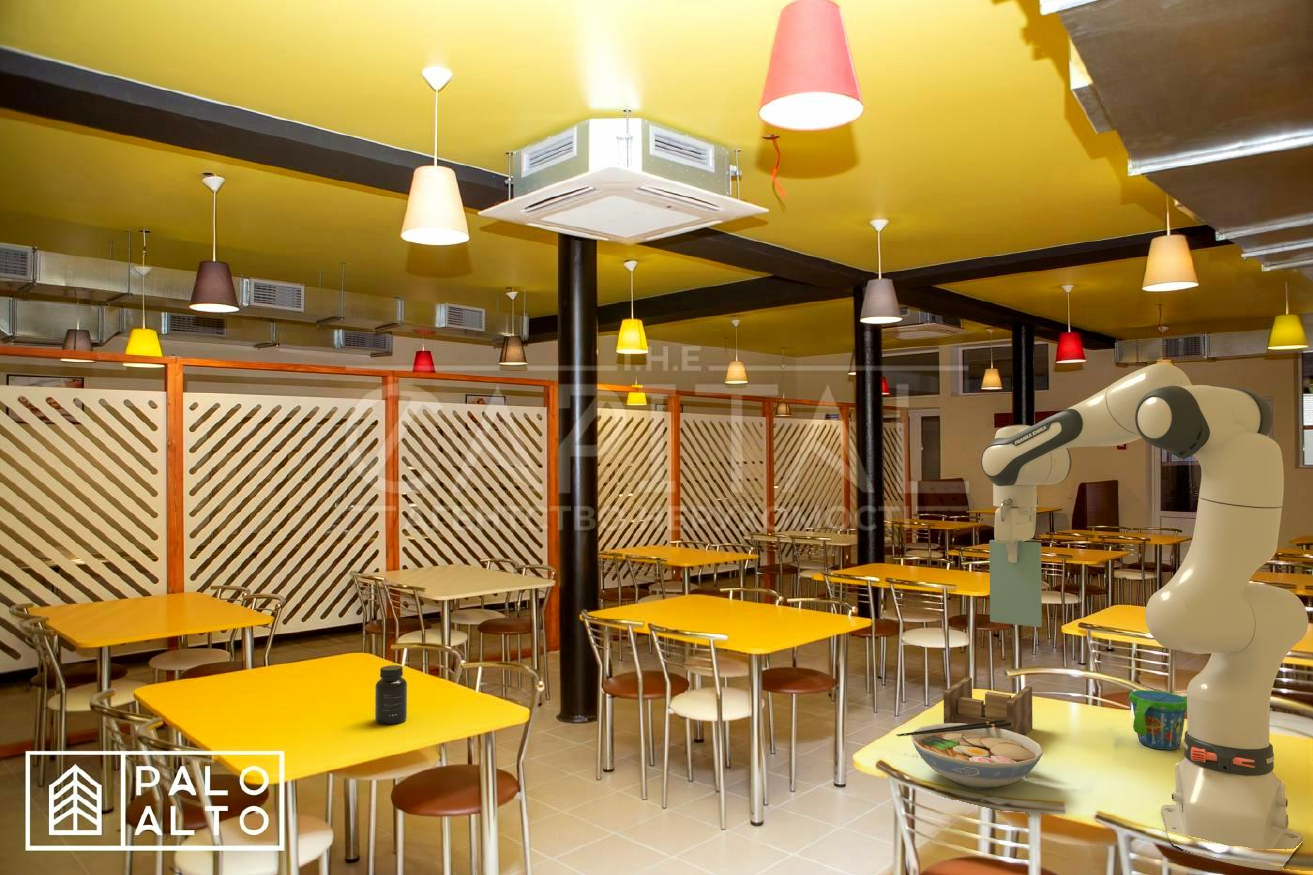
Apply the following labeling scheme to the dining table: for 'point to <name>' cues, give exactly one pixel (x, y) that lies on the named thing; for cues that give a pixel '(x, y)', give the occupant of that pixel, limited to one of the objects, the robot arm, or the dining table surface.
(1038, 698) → the dining table surface
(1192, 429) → the robot arm
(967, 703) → the short oak offcut
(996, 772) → the ramen bowl
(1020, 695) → the walnut rack
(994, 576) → the tall panel
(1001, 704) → the tall oak offcut
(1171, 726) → the snack cup
